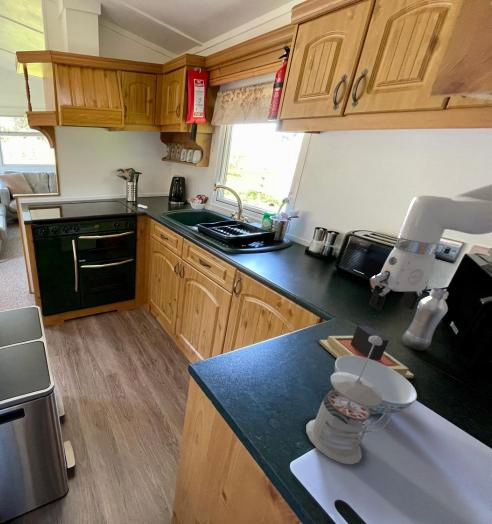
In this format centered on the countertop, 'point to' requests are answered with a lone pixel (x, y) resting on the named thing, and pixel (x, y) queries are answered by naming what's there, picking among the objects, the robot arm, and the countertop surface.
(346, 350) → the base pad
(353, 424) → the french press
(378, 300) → the robot arm
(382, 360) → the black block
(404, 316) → the countertop surface
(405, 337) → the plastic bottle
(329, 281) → the countertop surface
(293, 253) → the countertop surface
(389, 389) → the chinaware
